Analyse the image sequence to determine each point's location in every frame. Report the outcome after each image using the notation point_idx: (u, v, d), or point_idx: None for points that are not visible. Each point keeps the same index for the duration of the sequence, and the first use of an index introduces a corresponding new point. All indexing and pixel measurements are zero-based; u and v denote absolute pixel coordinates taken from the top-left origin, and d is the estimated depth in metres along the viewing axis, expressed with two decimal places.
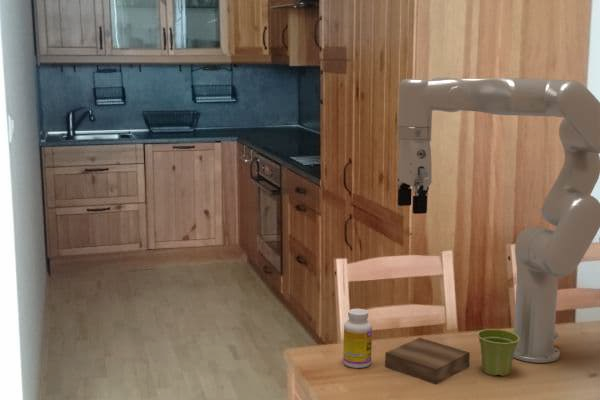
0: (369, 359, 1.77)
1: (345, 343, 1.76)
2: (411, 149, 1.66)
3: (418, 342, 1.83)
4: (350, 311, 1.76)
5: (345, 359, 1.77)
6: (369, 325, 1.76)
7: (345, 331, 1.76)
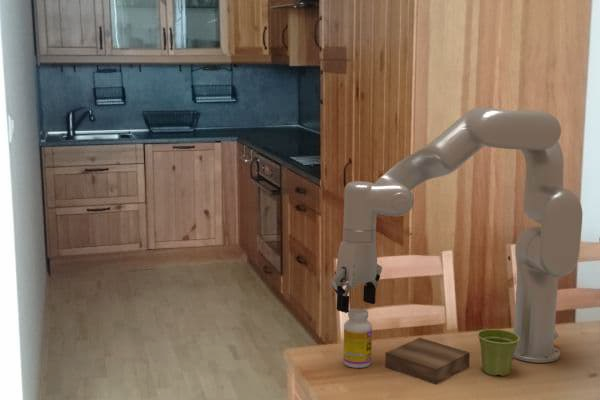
0: (369, 359, 1.77)
1: (345, 343, 1.76)
2: None
3: (418, 342, 1.83)
4: (350, 311, 1.76)
5: (345, 359, 1.77)
6: (369, 325, 1.76)
7: (345, 331, 1.76)
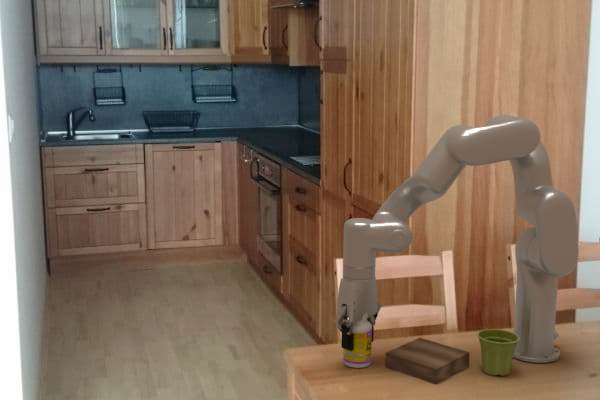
0: (369, 359, 1.77)
1: None
2: None
3: (418, 342, 1.83)
4: None
5: (345, 359, 1.77)
6: (369, 325, 1.76)
7: None
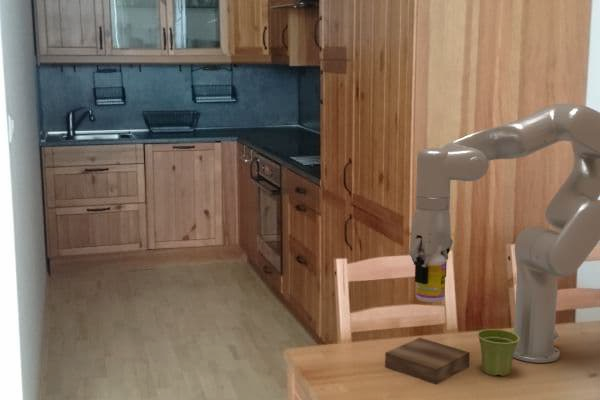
0: (443, 293, 1.72)
1: None
2: (449, 214, 1.72)
3: (418, 342, 1.83)
4: None
5: (418, 293, 1.72)
6: (443, 258, 1.71)
7: None
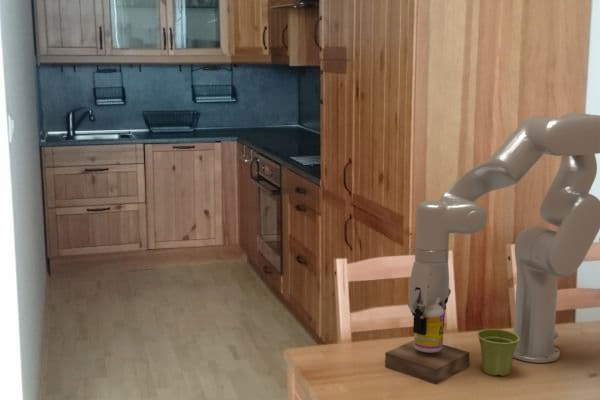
0: (441, 344, 1.74)
1: None
2: None
3: None
4: None
5: (417, 344, 1.74)
6: (441, 309, 1.73)
7: None
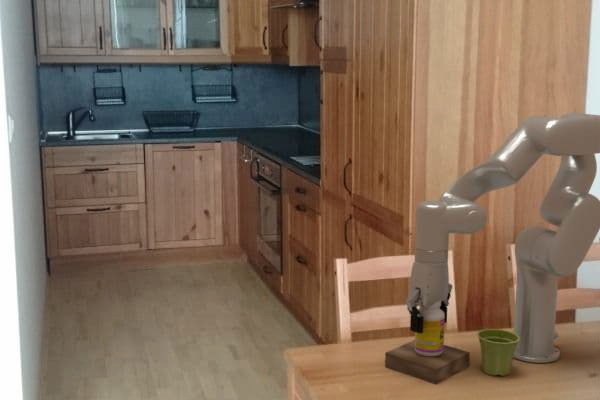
0: (442, 347, 1.74)
1: None
2: (447, 266, 1.74)
3: None
4: None
5: (417, 348, 1.75)
6: (442, 313, 1.74)
7: None
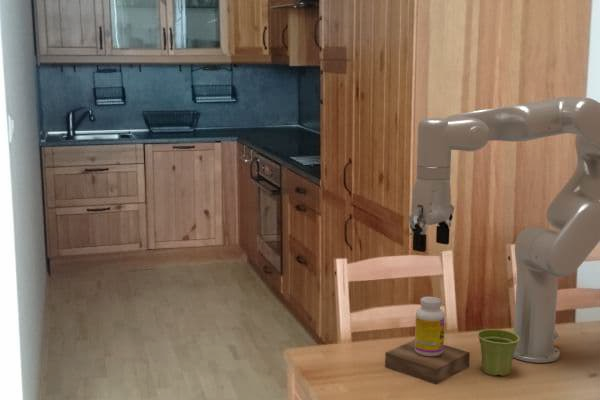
0: (442, 348, 1.74)
1: (418, 331, 1.74)
2: (449, 185, 1.72)
3: None
4: (423, 299, 1.74)
5: (417, 348, 1.75)
6: (442, 313, 1.74)
7: (418, 319, 1.74)
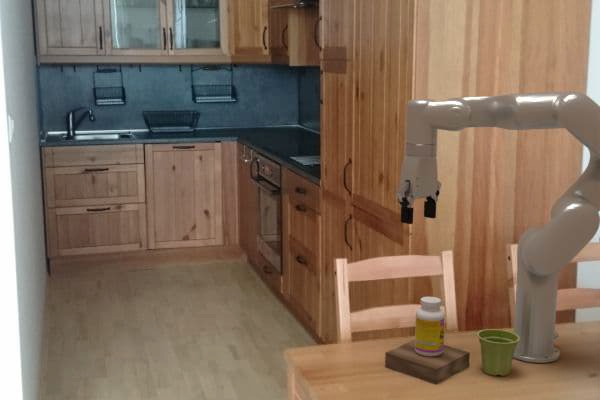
0: (442, 347, 1.74)
1: (418, 331, 1.74)
2: (436, 162, 1.84)
3: None
4: (422, 299, 1.74)
5: (417, 348, 1.75)
6: (442, 313, 1.74)
7: (418, 319, 1.74)
